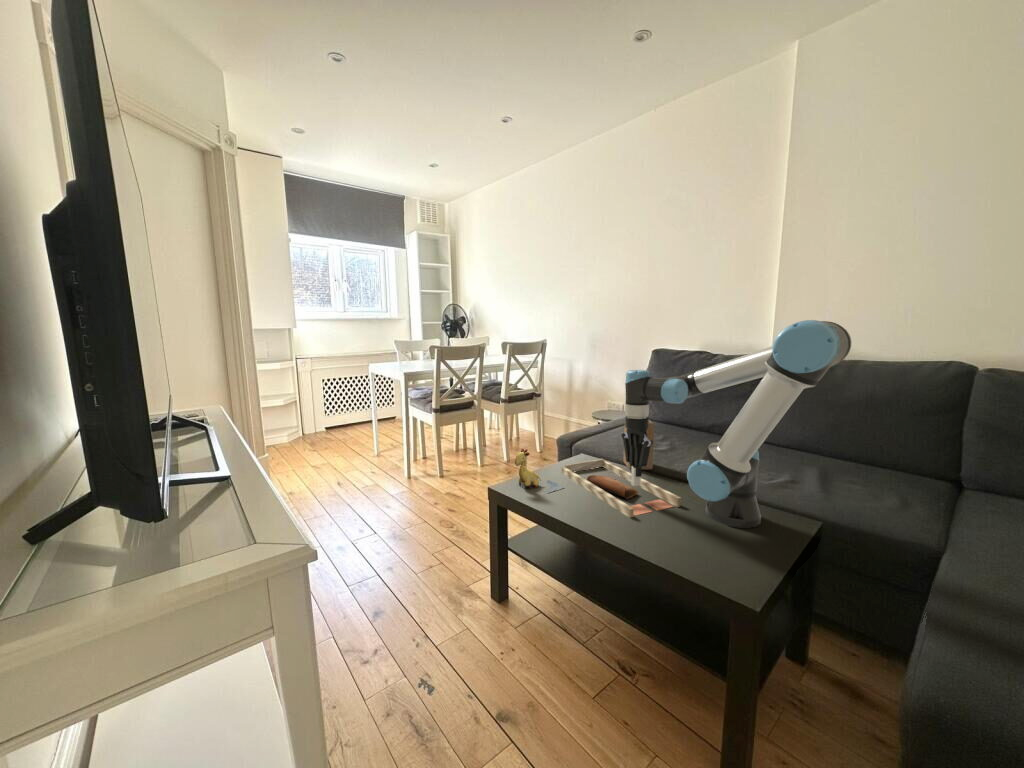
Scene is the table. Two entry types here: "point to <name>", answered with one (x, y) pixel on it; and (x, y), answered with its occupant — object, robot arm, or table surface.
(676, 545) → the table surface
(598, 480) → the sunglasses case
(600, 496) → the wooden tray
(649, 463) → the block
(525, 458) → the stuffed giraffe
